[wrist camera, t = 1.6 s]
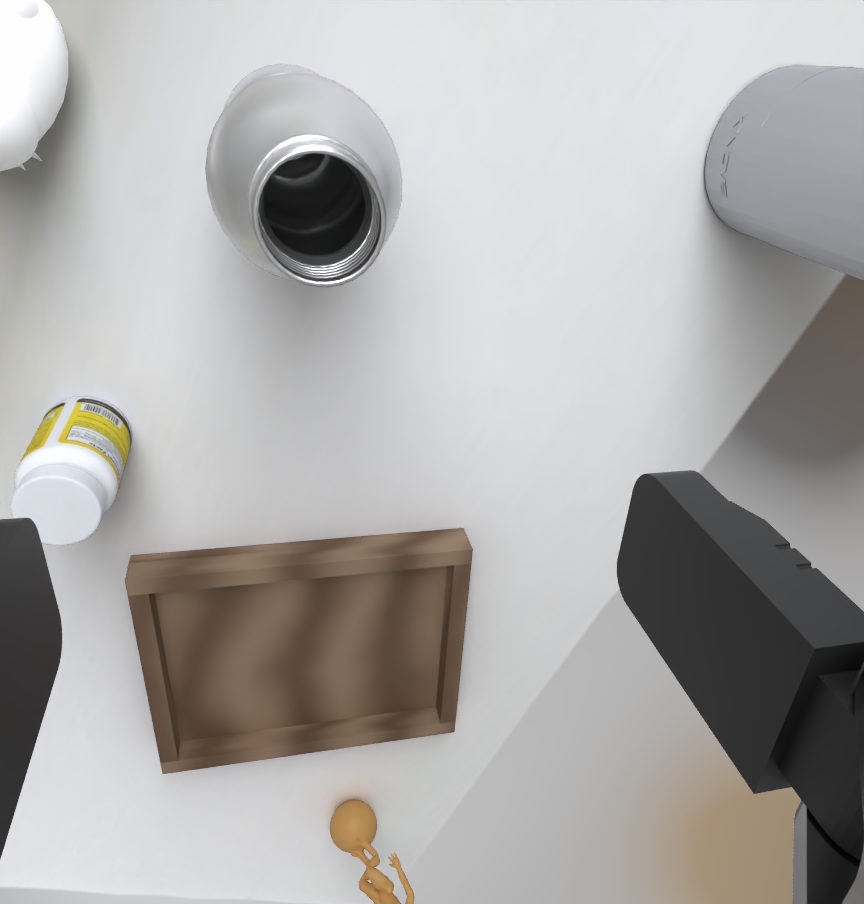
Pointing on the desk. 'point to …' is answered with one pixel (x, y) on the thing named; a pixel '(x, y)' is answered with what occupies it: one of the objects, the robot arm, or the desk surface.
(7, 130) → the toy creature
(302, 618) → the walnut tray
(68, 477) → the supplement bottle
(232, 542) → the desk surface
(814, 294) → the desk surface
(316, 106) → the plastic bottle
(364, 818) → the figurine
